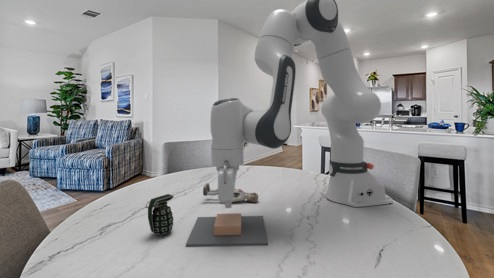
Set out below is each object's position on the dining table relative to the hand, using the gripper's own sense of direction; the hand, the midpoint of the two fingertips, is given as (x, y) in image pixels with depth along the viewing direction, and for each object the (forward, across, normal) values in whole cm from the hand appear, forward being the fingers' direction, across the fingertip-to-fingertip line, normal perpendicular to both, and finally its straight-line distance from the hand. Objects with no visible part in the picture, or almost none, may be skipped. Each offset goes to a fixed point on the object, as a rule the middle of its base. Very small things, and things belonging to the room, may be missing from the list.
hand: (228, 206), depth 70 cm
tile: (+4, +2, 0) cm, 4 cm away
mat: (+6, -2, 0) cm, 6 cm away
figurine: (+6, +21, 0) cm, 22 cm away
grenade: (+6, -3, +18) cm, 19 cm away
